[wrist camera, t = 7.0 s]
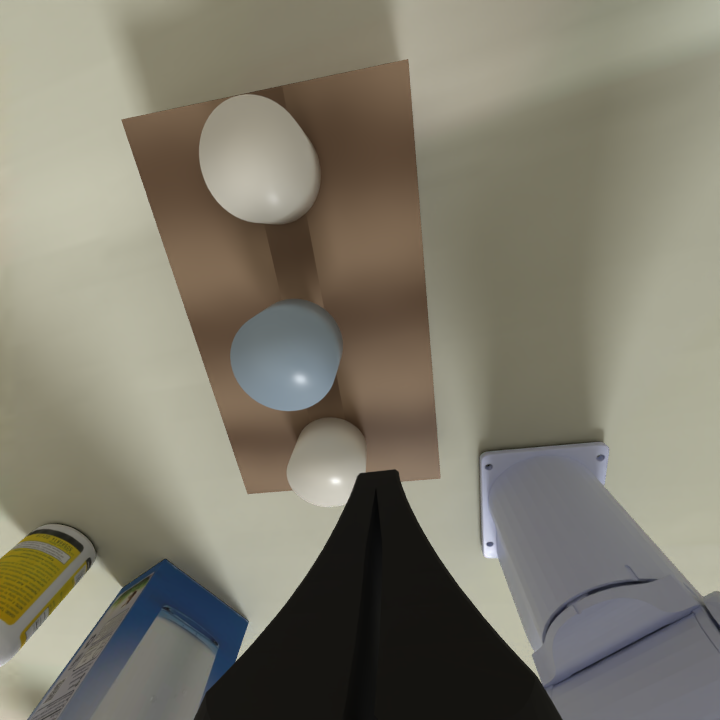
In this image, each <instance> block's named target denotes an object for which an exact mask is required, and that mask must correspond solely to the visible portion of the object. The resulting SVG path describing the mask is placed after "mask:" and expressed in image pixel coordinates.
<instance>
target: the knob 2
mask: <svg viewBox="0 0 720 720" xmlns="http://www.w3.org/2000/svg"><path fill="white" fill-rule="evenodd" d="M366 456H367V444H366V440H365V438H364V436H363V434H362V433H361V431H360V430H359V429H358V428H357V427H356V426H354V425H353V424H351V423H350V422H348V421H345V420H343V419H339V418H332V417H328V418H321V419H317V420H315V421H313V422H311V423H309V424H308V425H307V426H306V427H305V428H304V429H303V430H302V431H301V433H300V435H299V438H298V440H297V443H296V445H295V448H294V450H293V453H292V455H291V458H290V460H289V463H288V466H287V479H288V482H289V485H290V486H291V488H292V490H293V491H294V492H295V493H296V494H297V495H298V496H299V497H300V498H302V499H303V500H305V501H307V502H308V503H311V504H313V505H317V506H322V507H337V506H341V505H344V504H346V503H347V501H348V499H349V497H350V494H351V492H352V489H353V487H354V484H355V481H356V478H357V476H358V475H359V474H360V473H366Z"/></svg>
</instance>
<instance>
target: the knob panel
mask: <svg viewBox="0 0 720 720" xmlns="http://www.w3.org/2000/svg"><path fill="white" fill-rule="evenodd" d="M245 94H252V95H259V96H263V97H266V98H268V99H271V100H272V101H274V102H276V103H278V104H279V105H280V106H282V107H283V108H284V109H285V110H286V111H287V112H288V113H289V114H290V115H291V116H292V117H293V118H294V120H295V121H296V122H297V124H298V125H299V126H300V128H301V129H302V130H303V132H304V133H305V134H306V136H307V137H308V138H309V140H310V141H311V143H312V145H313V146H314V149H315V151H316V153H317V156H318V159H319V163H320V171H321V181H320V188H319V192H318V195H317V197H316V200H315V202H314V203H313V205H312V207H311V208H310V209H309V210H308V212H307V213H306V214H305V215H303V216H302V217H301V218H299V219H297V220H296V221H293V222H291V223H287V224H280V225H278V224H264V223H253V222H248V221H245V220H242V219H240V218H238V217H236V216H234V215H232V214H231V213H229V212H228V211H227V210H225V209H224V208H223V207H222V206H221V205H220V204H219V203H218V202H217V201H216V199H215V198H214V197H213V195H212V194H211V192H210V190H209V189H208V187H207V185H206V183H205V180H204V177H203V174H202V171H201V167H200V160H199V144H200V137H201V133H202V130H203V127H204V125H205V123H206V121H207V119H208V117H209V116H210V114H211V113H212V112H213V110H214V109H215V108H216V107H217V106H218V105H220V104H221V103H222V102H224V101H225V100H227V99H229V98H231V97H235V96H231V97H226V98H222V99H217V100H212V101H208V102H203V103H198V104H193V105H189V106H184V107H179V108H174V109H170V110H165V111H160V112H155V113H151V114H146V115H141V116H136V117H132V118H127V119H122V123H123V126H124V129H125V132H126V135H127V138H128V141H129V144H130V147H131V150H132V153H133V156H134V159H135V161H136V164H137V167H138V170H139V173H140V176H141V179H142V182H143V185H144V188H145V191H146V194H147V197H148V200H149V203H150V206H151V209H152V212H153V215H154V218H155V221H156V224H157V227H158V230H159V233H160V236H161V239H162V241H163V244H164V247H165V250H166V253H167V256H168V259H169V262H170V265H171V268H172V271H173V274H174V277H175V280H176V283H177V286H178V289H179V292H180V295H181V298H182V301H183V304H184V307H185V310H186V313H187V316H188V319H189V321H190V324H191V327H192V330H193V333H194V336H195V339H196V342H197V345H198V348H199V351H200V354H201V357H202V360H203V363H204V366H205V369H206V372H207V375H208V378H209V381H210V384H211V387H212V390H213V393H214V396H215V399H216V401H217V404H218V407H219V410H220V413H221V416H222V419H223V422H224V425H225V428H226V431H227V434H228V437H229V440H230V443H231V446H232V449H233V452H234V455H235V458H236V461H237V464H238V467H239V470H240V473H241V476H242V479H243V481H244V484H245V487H246V490H247V493H248V494H253V493H266V492H278V491H291V490H292V488H291V486H290V485H289V482H288V479H287V466H288V463H289V460H290V458H291V455H292V453H293V450H294V448H295V445H296V443H297V440H298V438H299V435H300V433H301V431H302V430H303V429H304V428H305V427H306V426H307V425H308V424H309V423H311V422H313V421H315V420H317V419H321V418H328V417H332V418H339V419H343V420H345V421H348V422H350V423H351V424H353V425H354V426H356V427H357V428H358V429H359V430H360V431H361V433H362V434H363V436H364V438H365V440H366V444H367V456H366V472H375V471H384V470H393V469H396V470H397V471H398V472H399V476H400V481H401V482H403V481H415V480H427V479H440V465H439V452H438V439H437V426H436V413H435V400H434V387H433V374H432V361H431V348H430V335H429V322H428V309H427V296H426V283H425V270H424V257H423V244H422V231H421V218H420V205H419V192H418V180H417V167H416V154H415V141H414V128H413V115H412V102H411V89H410V76H409V63H408V59H407V60H402V61H397V62H393V63H388V64H383V65H378V66H374V67H369V68H364V69H359V70H355V71H350V72H345V73H340V74H336V75H331V76H326V77H321V78H317V79H312V80H307V81H302V82H298V83H293V84H288V85H283V86H279V87H274V88H269V89H264V90H260V91H255V92H250V93H245ZM245 94H241V95H245ZM236 96H238V95H236ZM286 299H302V300H307V301H310V302H313V303H315V304H317V305H319V306H320V307H322V308H324V309H325V310H326V311H327V312H328V313H329V314H330V315H331V316H332V317H333V318H334V320H335V321H336V323H337V325H338V326H339V329H340V331H341V334H342V339H343V352H342V357H341V360H340V363H339V366H338V370H337V373H336V376H335V379H334V383H333V385H332V387H331V389H330V390H329V392H328V393H327V394H326V396H325V397H324V398H323V399H321V400H320V401H319V402H318V403H316V404H314V405H313V406H311V407H308V408H305V409H302V410H297V411H281V410H275V409H272V408H269V407H266V406H264V405H262V404H260V403H258V402H257V401H255V400H254V399H252V398H251V397H250V396H249V395H248V394H247V393H246V392H245V391H244V390H243V389H242V388H241V386H240V385H239V383H238V382H237V380H236V378H235V376H234V373H233V371H232V366H231V360H230V351H231V346H232V342H233V339H234V337H235V335H236V333H237V332H238V330H239V329H240V328H241V327H242V326H243V325H244V324H245V323H246V322H247V321H248V320H250V319H251V318H253V317H254V316H256V315H257V314H259V313H260V312H262V311H263V310H265V309H266V308H268V307H269V306H271V305H272V304H274V303H276V302H279V301H282V300H286Z"/></svg>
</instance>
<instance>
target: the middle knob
mask: <svg viewBox="0 0 720 720" xmlns="http://www.w3.org/2000/svg"><path fill="white" fill-rule="evenodd" d="M342 352H343V339H342V334H341V331H340V329H339V326H338V325H337V323H336V321H335V320H334V318H333V317H332V316H331V315H330V314H329V313H328V312H327V311H326V310H325V309H324V308H322V307H320V306H319V305H317V304H315V303H313V302H310V301H307V300H302V299H286V300H282V301H279V302H276V303H274V304H272V305H271V306H269V307H268V308H266V309H265V310H263V311H262V312H260V313H259V314H257V315H256V316H254V317H253V318H251V319H250V320H248V321H247V322H246V323H245V324H244V325H243V326H242V327H241V328H240V329H239V330H238V332H237V333H236V335H235V337H234V339H233V342H232V346H231V351H230V360H231V366H232V371H233V373H234V376H235V378H236V380H237V382H238V383H239V385H240V386H241V388H242V389H243V390H244V391H245V392H246V393H247V394H248V395H249V396H250V397H251V398H252V399H254V400H255V401H257V402H258V403H260V404H262V405H264V406H266V407H269V408H272V409H275V410H281V411H297V410H302V409H305V408H308V407H311V406H313V405H314V404H316V403H318V402H319V401H320V400H321V399H323V398H324V397H325V396H326V394H327V393H328V392H329V390H330V389H331V387H332V385H333V383H334V379H335V376H336V373H337V370H338V366H339V363H340V360H341V357H342Z"/></svg>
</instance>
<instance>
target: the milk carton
mask: <svg viewBox="0 0 720 720" xmlns="http://www.w3.org/2000/svg"><path fill="white" fill-rule="evenodd" d="M248 623H249V621H248V620H246V619H245V618H244V617H242V616H241V615H240V614H238V613H237V612H236V611H234V610H233V609H232V608H230V607H229V606H228V605H226V604H225V603H224V602H222V601H221V600H220V599H218V598H217V597H216V596H214V595H213V594H212V593H210V592H209V591H208V590H206V589H205V588H204V587H202V586H201V585H200V584H198V583H197V582H196V581H194V580H193V579H192V578H190V577H189V576H188V575H186V574H185V573H184V572H182V571H181V570H180V569H178V568H177V567H176V566H174V565H173V564H172V563H170V562H169V561H167V560H166V559H164V560H163V561H161V562H160V563H158V564H157V565H155V566H154V567H152V568H151V569H150V570H148V571H147V572H145V573H144V574H142V575H141V576H139V577H138V578H136V579H135V580H134V581H132V582H131V583H129V584H128V585H126V586H125V587H123V588H122V589H121V591H120V592H119V593H118V595H117V596H116V598H115V599H114V600H113V602H112V603H111V604H110V606H109V607H108V609H107V610H106V611H105V613H104V614H103V616H102V617H101V618H100V620H99V621H98V622H97V624H96V625H95V627H94V628H93V629H92V631H91V632H90V633H89V635H88V636H87V638H86V639H85V640H84V642H83V643H82V645H81V646H80V647H79V649H78V650H77V651H76V653H75V654H74V656H73V657H72V658H71V660H70V661H69V663H68V664H67V665H66V667H65V668H64V669H63V671H62V672H61V674H60V675H59V676H58V678H57V679H56V680H55V682H54V683H53V685H52V686H51V687H50V689H49V690H48V692H47V693H46V694H45V696H44V697H43V698H42V700H41V701H40V703H39V704H38V705H37V707H36V708H35V709H34V711H33V712H32V714H31V715H30V716H29V718H28V719H27V720H194V717H195V715H196V713H197V711H198V709H199V707H200V705H201V703H202V700H203V698H204V696H205V694H206V692H207V691H208V690H209V689H210V688H211V687H212V686H213V685H214V684H215V683H216V682H217V681H218V680H219V679H220V678H221V677H222V676H223V674H224V673H225V672H226V671H227V670H228V669H229V668H230V667H231V666H232V665H233V664H234V663H235V661H236V658H237V655H238V652H239V649H240V646H241V643H242V640H243V637H244V634H245V631H246V629H247V626H248Z"/></svg>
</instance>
